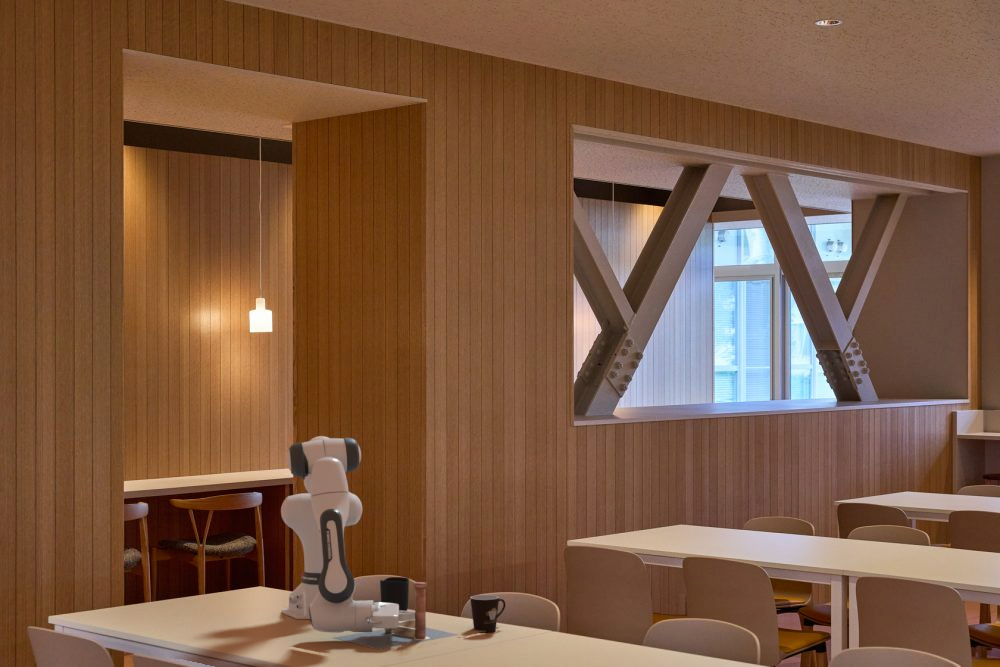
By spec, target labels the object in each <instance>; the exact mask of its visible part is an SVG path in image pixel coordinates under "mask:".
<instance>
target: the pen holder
mask: <svg viewBox="0 0 1000 667" xmlns="http://www.w3.org/2000/svg"><path fill="white" fill-rule="evenodd" d="M379 582H380V583H379V584H380V585H379V586H380V587H379V588H380V602H383V603H395V604H398V605H399V611H408V609H409V592H410V591H409V588H410V579H409V578H408V577H405V576H401V577H400V576H390V577H387V578H385V579H383V580H382V579H380V580H379Z"/></svg>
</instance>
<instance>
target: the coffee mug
mask: <svg viewBox="0 0 1000 667" xmlns="http://www.w3.org/2000/svg"><path fill="white" fill-rule="evenodd" d="M469 599H470V607H471V615H472V623H473V629H474V630H475V631H479V632H477V633H478V634H491V633H495V632H496V630H497V622H498V618H499V616H501V614H503V612H504V610H505V608H506V601H505V600H504V599H502V598H500V597H499V596H498V595H492V594H477V595H473V596H470V598H469ZM499 602H502V604H503V606H502V608H501V610H500V611H499ZM498 611H499V613H498Z"/></svg>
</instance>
